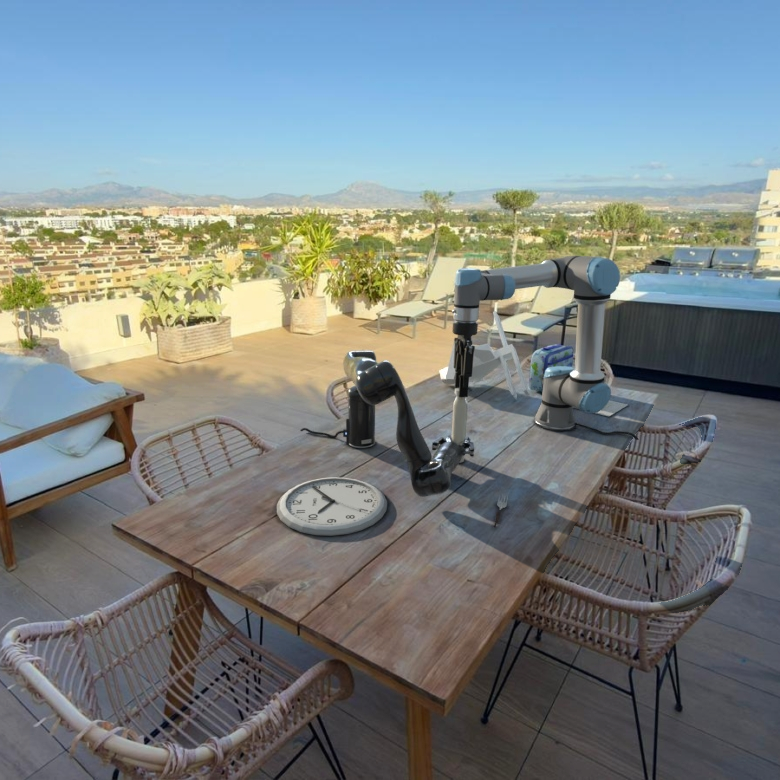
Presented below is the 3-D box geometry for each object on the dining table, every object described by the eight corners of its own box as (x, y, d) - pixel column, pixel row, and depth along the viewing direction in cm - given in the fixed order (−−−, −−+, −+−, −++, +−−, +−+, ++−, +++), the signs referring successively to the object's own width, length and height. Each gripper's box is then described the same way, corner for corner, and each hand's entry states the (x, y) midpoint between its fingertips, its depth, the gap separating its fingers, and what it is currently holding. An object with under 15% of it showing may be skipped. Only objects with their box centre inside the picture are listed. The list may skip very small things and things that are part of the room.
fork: (489, 527, 133) (489, 520, 132) (498, 498, 147) (499, 492, 147) (499, 529, 132) (500, 523, 132) (508, 500, 147) (508, 494, 146)
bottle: (448, 458, 173) (451, 390, 166) (460, 456, 175) (464, 389, 168) (453, 463, 169) (457, 394, 162) (466, 462, 171) (470, 393, 164)
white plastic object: (461, 429, 252) (437, 405, 227) (444, 352, 274) (420, 323, 250) (535, 404, 240) (518, 377, 215) (510, 326, 262) (492, 293, 237)
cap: (468, 393, 166) (469, 388, 166) (465, 396, 163) (466, 392, 162) (456, 391, 168) (456, 387, 167) (453, 395, 164) (453, 390, 164)
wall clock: (392, 527, 129) (268, 531, 127) (391, 533, 130) (269, 537, 127) (383, 473, 158) (282, 475, 155) (383, 478, 158) (282, 480, 156)
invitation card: (608, 416, 214) (573, 407, 224) (608, 416, 214) (573, 408, 224) (628, 404, 229) (594, 396, 238) (628, 405, 229) (594, 397, 238)
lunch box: (545, 397, 238) (550, 352, 231) (524, 391, 245) (529, 348, 239) (572, 386, 255) (578, 344, 249) (552, 381, 262) (557, 340, 256)
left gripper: (471, 450, 154) (482, 430, 169) (424, 443, 159) (439, 424, 174) (469, 473, 156) (480, 452, 171) (423, 465, 161) (438, 445, 176)
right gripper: (446, 316, 166) (442, 386, 173) (461, 326, 150) (457, 403, 157) (468, 316, 167) (464, 386, 174) (486, 325, 151) (481, 402, 158)
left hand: (460, 438), depth 172 cm, fingers closed on bottle, 4 cm apart
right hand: (461, 394), depth 165 cm, fingers closed on cap, 4 cm apart
